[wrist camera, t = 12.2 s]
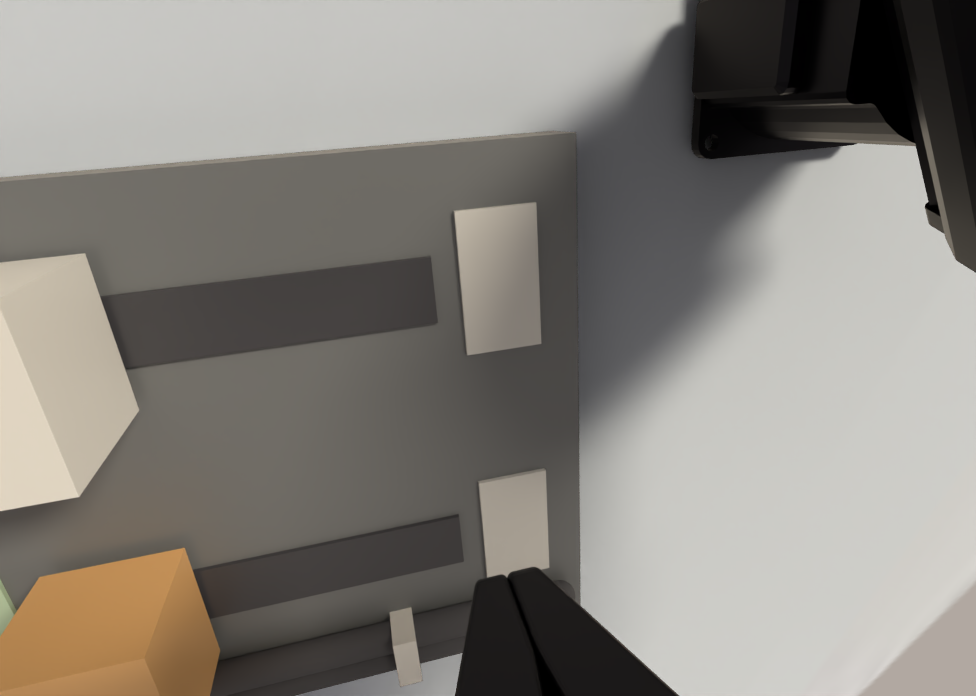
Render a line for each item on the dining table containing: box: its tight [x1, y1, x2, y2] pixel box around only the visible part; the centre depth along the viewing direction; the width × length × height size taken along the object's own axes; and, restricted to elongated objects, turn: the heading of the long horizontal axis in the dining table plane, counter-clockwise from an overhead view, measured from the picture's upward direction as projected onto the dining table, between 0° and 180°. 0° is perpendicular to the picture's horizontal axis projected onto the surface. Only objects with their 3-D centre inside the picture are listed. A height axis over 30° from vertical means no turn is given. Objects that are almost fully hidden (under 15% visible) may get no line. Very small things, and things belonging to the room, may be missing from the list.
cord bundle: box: [210, 580, 575, 696], centre depth 20 cm, size 21×2×2 cm, turn 94°
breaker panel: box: [0, 131, 580, 661], centre depth 18 cm, size 22×18×2 cm
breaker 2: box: [0, 548, 220, 696], centre depth 16 cm, size 4×4×4 cm
